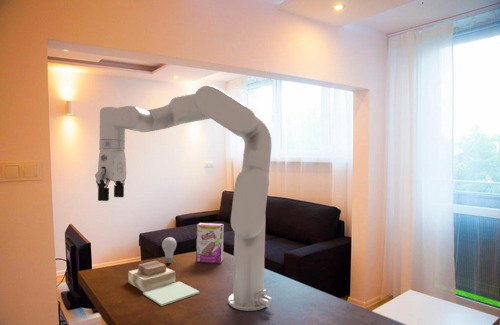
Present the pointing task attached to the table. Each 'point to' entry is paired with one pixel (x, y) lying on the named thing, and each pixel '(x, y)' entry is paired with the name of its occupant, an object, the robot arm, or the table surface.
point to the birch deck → (151, 279)
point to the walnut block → (151, 268)
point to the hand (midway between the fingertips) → (111, 198)
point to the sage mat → (170, 293)
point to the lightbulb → (169, 248)
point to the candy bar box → (209, 243)
